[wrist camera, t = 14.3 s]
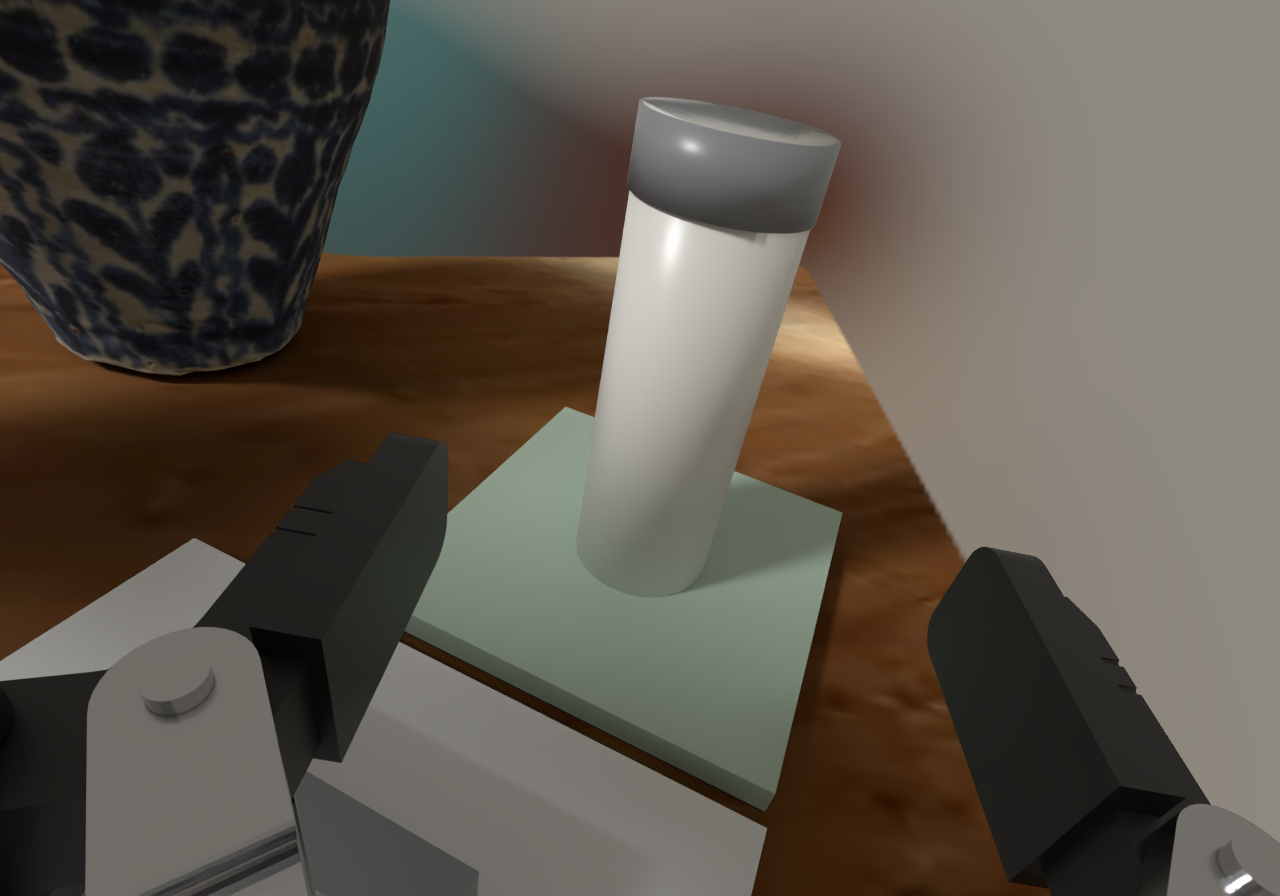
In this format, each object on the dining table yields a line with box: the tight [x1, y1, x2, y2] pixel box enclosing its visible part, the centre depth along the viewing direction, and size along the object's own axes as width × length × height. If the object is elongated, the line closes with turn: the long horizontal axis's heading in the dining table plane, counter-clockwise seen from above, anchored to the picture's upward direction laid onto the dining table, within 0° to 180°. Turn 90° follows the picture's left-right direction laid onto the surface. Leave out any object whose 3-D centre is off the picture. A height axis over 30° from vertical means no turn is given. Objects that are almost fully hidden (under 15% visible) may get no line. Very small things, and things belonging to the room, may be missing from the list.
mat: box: [405, 407, 842, 812], centre depth 25 cm, size 14×14×1 cm
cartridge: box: [576, 97, 841, 597], centre depth 21 cm, size 5×5×15 cm
